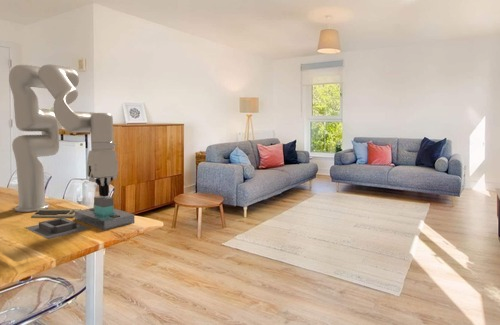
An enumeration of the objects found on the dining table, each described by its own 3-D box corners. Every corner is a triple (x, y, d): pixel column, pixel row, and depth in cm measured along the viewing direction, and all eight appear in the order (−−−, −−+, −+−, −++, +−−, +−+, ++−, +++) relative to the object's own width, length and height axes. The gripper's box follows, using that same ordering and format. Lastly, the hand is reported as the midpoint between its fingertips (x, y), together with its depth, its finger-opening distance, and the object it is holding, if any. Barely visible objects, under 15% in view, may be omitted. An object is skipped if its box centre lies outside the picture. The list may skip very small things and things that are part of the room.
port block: (75, 221, 128) (74, 211, 128) (104, 215, 138) (104, 205, 138) (104, 232, 117) (104, 221, 116) (134, 224, 127) (134, 213, 126)
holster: (24, 230, 117) (24, 222, 117) (65, 221, 129) (65, 213, 128) (48, 242, 107) (48, 233, 106) (91, 231, 118) (91, 222, 118)
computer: (30, 221, 129) (30, 213, 128) (41, 215, 137) (41, 207, 136) (73, 221, 130) (73, 213, 130) (82, 215, 138) (81, 207, 138)
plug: (94, 223, 128) (94, 197, 126) (104, 220, 131) (104, 195, 130) (103, 226, 124) (103, 199, 123) (113, 223, 127) (113, 197, 126)
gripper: (115, 145, 132) (116, 191, 134) (77, 147, 120) (79, 197, 122) (126, 146, 128) (127, 193, 130) (88, 148, 116) (90, 200, 118)
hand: (104, 195), depth 126 cm, fingers closed
